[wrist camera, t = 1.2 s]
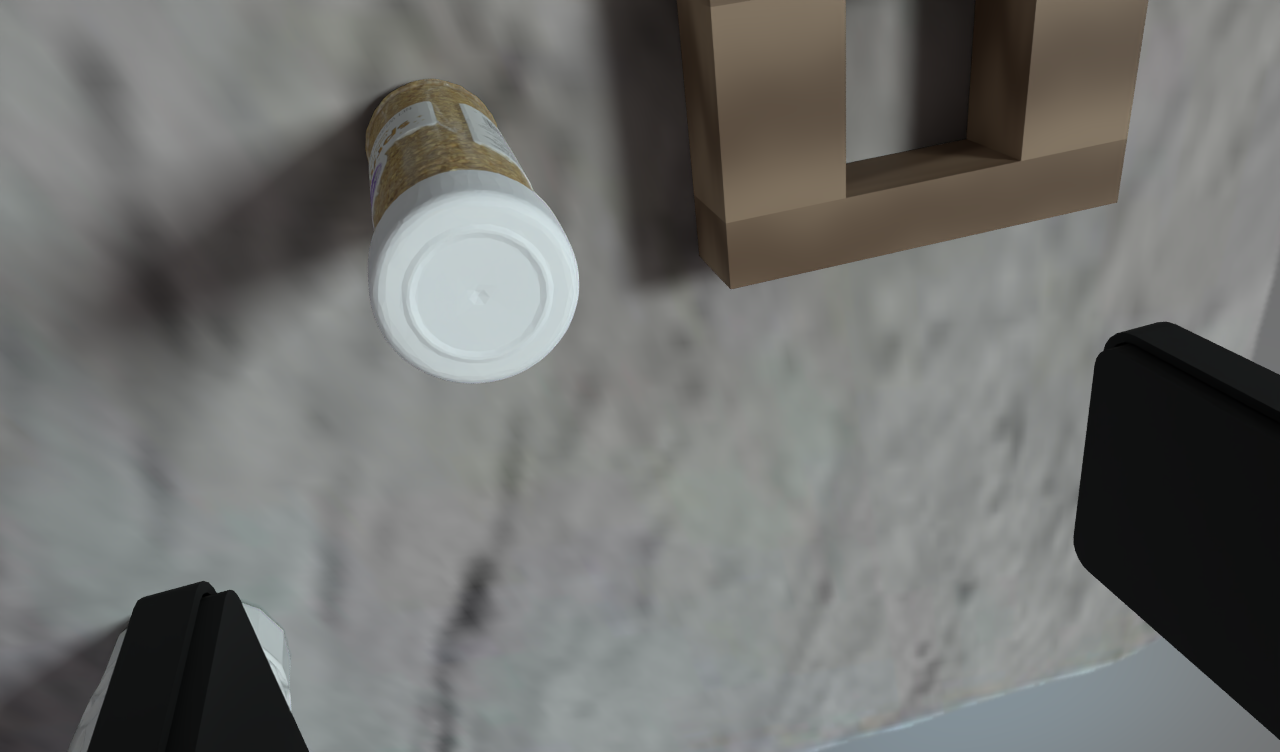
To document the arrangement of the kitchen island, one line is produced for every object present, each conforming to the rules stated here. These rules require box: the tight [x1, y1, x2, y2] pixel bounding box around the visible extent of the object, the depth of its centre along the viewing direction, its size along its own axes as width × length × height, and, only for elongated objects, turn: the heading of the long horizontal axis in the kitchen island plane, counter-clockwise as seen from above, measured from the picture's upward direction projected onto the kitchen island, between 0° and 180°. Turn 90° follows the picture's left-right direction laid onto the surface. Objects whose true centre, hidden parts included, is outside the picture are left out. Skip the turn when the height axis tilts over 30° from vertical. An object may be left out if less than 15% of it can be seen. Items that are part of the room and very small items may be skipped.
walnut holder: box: [677, 0, 1148, 289], centre depth 32 cm, size 12×16×4 cm
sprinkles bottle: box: [365, 79, 579, 384], centre depth 25 cm, size 5×5×13 cm
